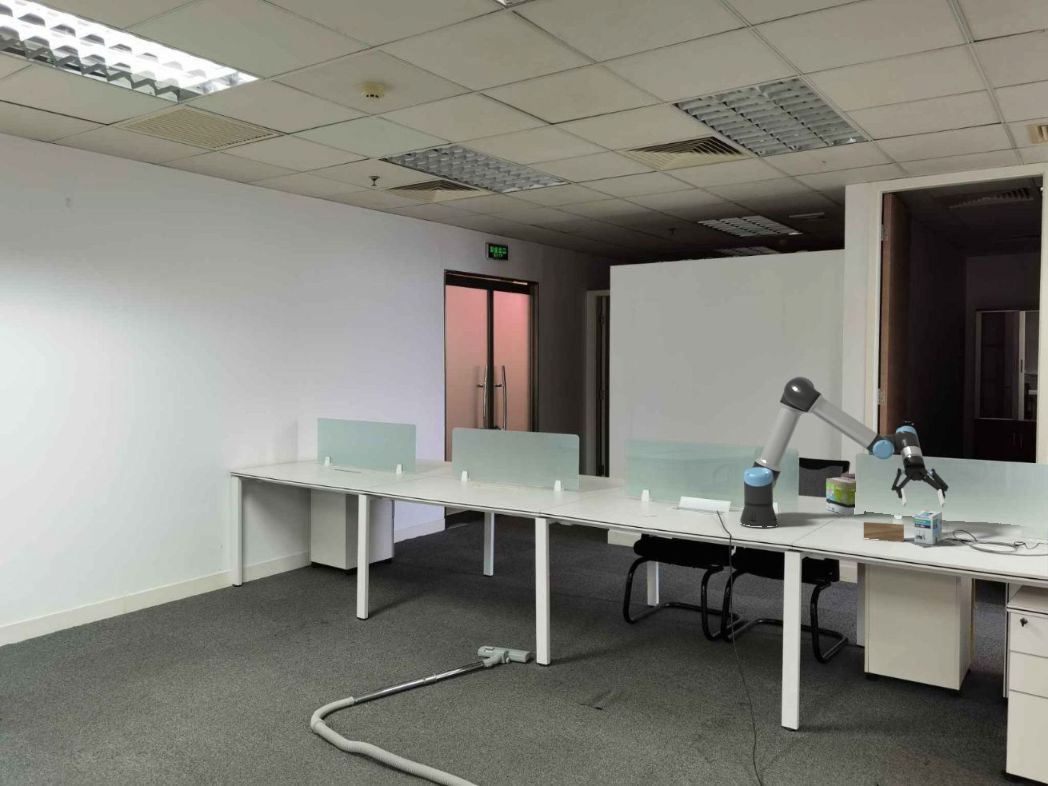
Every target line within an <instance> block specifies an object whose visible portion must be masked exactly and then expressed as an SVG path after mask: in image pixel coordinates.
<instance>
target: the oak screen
mask: <svg viewBox="0 0 1048 786" xmlns="http://www.w3.org/2000/svg"><path fill="white" fill-rule="evenodd" d="M864 538H869V539H879V540H878V541H881V540H888V541H887V542H895V541H903V542H902V543H905V541H904V538H905V524H902V523H901V524H900V523H888V522H887V523H886V522H885V523H884V522H871V521H870V522H869V521H863V539H864Z"/></svg>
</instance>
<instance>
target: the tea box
mask: <svg viewBox="0 0 1048 786" xmlns="http://www.w3.org/2000/svg"><path fill="white" fill-rule="evenodd" d="M825 485H826V486H825V487H826V489H825V495H826V496H825V497H826V501H825V503H826V504H825V506H826V510H827V511H831V512H835V513H837V512H838V514H841V515H844V516H846V515H847V517H850V516H851V515H853V514H854V508H855V492H856V480H855V479H851V478H846V477H841V476H840V477H832V478H831V477H830V478H828V477H827V478H826V479H825ZM853 516H854V515H853ZM851 517H852V516H851Z"/></svg>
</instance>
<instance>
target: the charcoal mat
mask: <svg viewBox="0 0 1048 786" xmlns="http://www.w3.org/2000/svg"><path fill="white" fill-rule="evenodd" d="M904 540H905V541H904V542H907V541H908V542H907V543H910V542H911V543H910V544H913V545H915V544H917V545H916V546H918V545H919V546H918V547H921V546H922V548H932V547H931V546H938V547H947V546H946V545H951V546H956V543H953V542H950V541H948V540H944V539H942V540H941V541H939V542H937V543H935V544H933V545H931V544H924V543H917V542H915V536H914V537H904Z"/></svg>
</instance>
